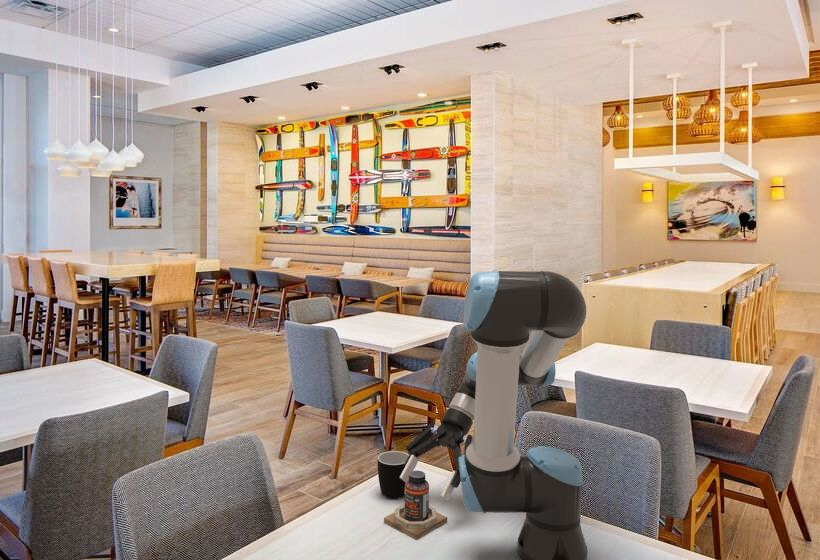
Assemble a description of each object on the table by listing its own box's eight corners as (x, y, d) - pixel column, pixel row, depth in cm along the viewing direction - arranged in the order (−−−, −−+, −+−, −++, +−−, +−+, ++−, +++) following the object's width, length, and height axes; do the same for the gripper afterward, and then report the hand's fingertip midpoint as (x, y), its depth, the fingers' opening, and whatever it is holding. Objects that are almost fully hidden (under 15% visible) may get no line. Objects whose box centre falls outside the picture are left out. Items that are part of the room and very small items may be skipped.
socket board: (447, 521, 143) (447, 512, 143) (416, 539, 135) (416, 530, 135) (414, 506, 150) (414, 497, 150) (383, 522, 142) (383, 513, 142)
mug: (407, 503, 152) (407, 466, 151) (373, 499, 154) (373, 463, 153) (415, 482, 164) (415, 447, 163) (384, 479, 165) (384, 445, 164)
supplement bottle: (400, 521, 141) (400, 476, 140) (410, 509, 146) (410, 466, 145) (423, 526, 139) (423, 480, 137) (432, 514, 144) (432, 470, 143)
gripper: (506, 433, 147) (470, 512, 138) (431, 410, 164) (394, 479, 155) (495, 419, 143) (456, 499, 134) (418, 396, 159) (380, 466, 150)
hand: (423, 488), depth 144 cm, fingers open, 13 cm apart
